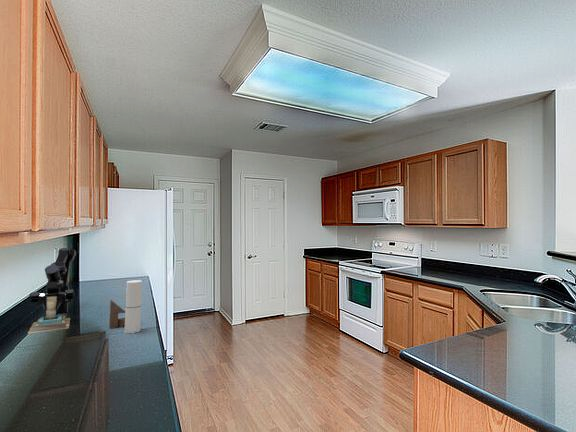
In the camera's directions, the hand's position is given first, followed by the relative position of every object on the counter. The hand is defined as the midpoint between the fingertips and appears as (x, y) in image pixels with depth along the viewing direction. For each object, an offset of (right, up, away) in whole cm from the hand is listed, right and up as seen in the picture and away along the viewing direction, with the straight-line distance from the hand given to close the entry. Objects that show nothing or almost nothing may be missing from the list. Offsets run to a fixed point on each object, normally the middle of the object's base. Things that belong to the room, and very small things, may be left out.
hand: (51, 309), depth 158 cm
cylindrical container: (+43, -10, -2) cm, 44 cm away
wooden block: (+33, -10, +6) cm, 35 cm away
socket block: (-1, -9, +1) cm, 9 cm away
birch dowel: (-1, -7, +1) cm, 7 cm away
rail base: (-2, -9, +2) cm, 10 cm away
